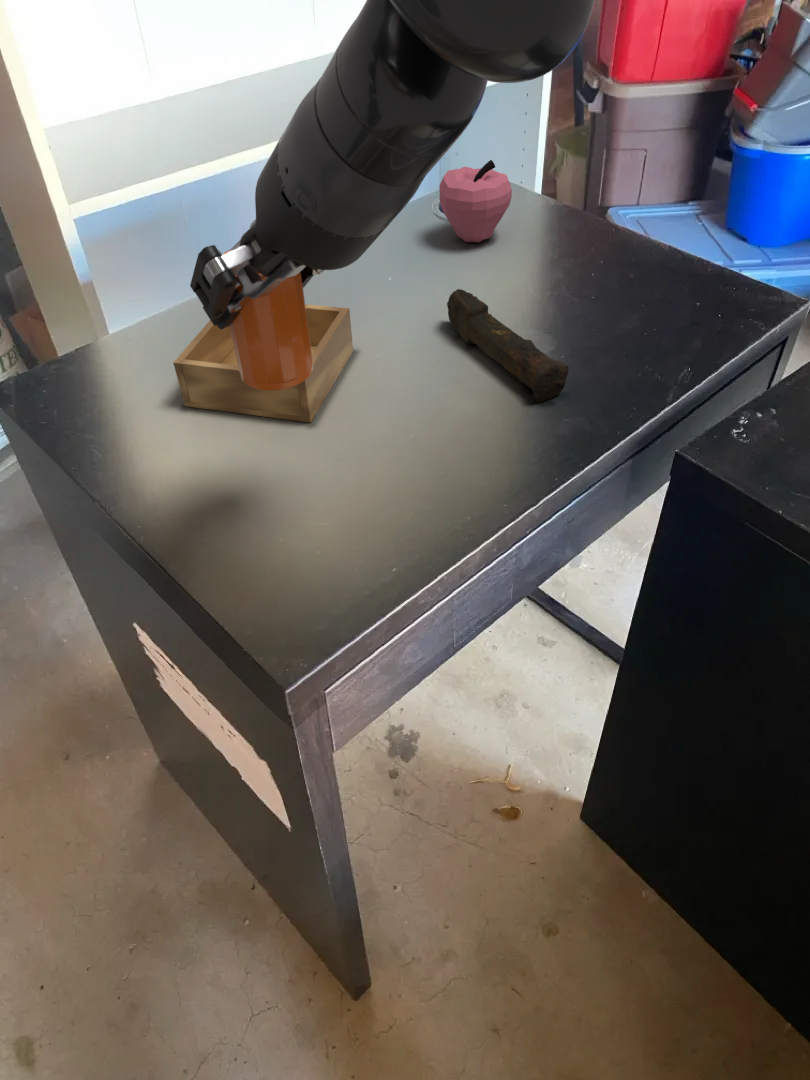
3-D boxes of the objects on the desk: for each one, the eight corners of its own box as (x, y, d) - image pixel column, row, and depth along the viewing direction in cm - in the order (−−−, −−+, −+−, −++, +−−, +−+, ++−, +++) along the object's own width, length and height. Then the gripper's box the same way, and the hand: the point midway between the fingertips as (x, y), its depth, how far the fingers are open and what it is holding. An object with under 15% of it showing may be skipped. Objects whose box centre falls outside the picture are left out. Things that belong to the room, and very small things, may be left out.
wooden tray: (184, 406, 83) (172, 362, 80) (238, 338, 93) (230, 296, 89) (311, 422, 80) (304, 378, 77) (353, 350, 90) (349, 308, 86)
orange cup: (228, 386, 62) (203, 272, 56) (257, 348, 66) (237, 238, 60) (297, 394, 61) (280, 280, 55) (323, 355, 65) (309, 244, 59)
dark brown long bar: (568, 395, 82) (573, 354, 79) (534, 407, 81) (538, 365, 78) (470, 315, 95) (471, 277, 91) (440, 324, 93) (439, 286, 90)
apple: (480, 218, 114) (482, 142, 107) (523, 238, 109) (528, 159, 102) (425, 238, 110) (424, 160, 103) (468, 260, 105) (469, 179, 98)
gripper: (400, 81, 49) (299, 224, 64) (199, 146, 42) (137, 290, 57) (464, 193, 50) (350, 309, 65) (277, 275, 43) (197, 384, 58)
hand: (251, 300), depth 61 cm, fingers closed on orange cup, 5 cm apart
